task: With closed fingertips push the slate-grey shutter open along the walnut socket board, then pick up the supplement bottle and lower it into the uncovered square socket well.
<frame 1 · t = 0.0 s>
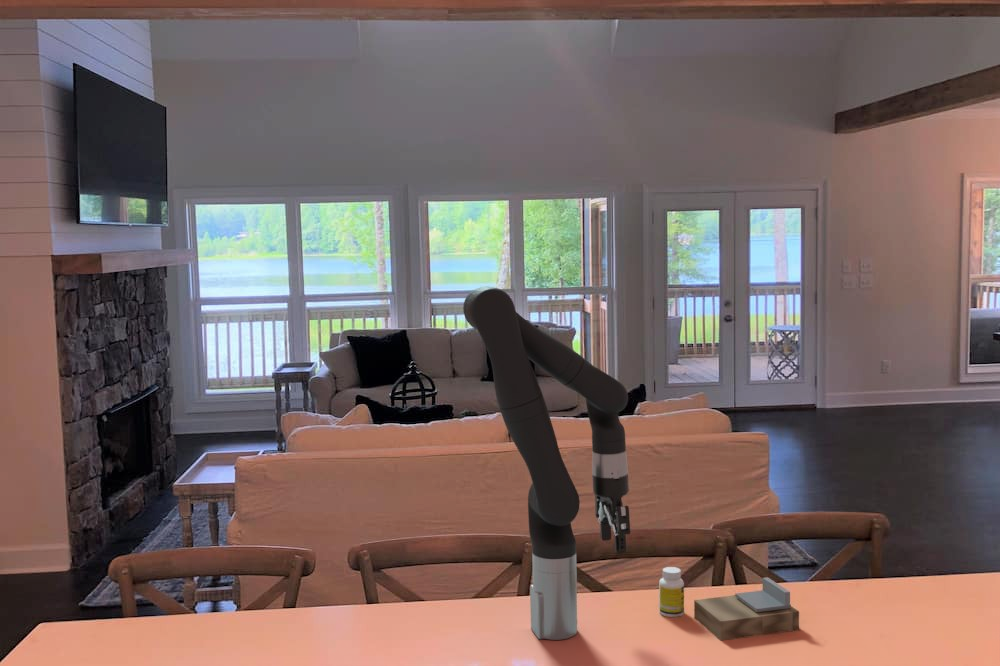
hand: (613, 546, 194), 17 cm above the kitchen island, tool pointing down, fingers open, 8 cm apart
shutter: (762, 594, 195), point 6 cm above the kitchen island, slide at 0.0 cm
supplement bottle: (671, 613, 201), on the kitchen island
socket board: (745, 623, 194), on the kitchen island
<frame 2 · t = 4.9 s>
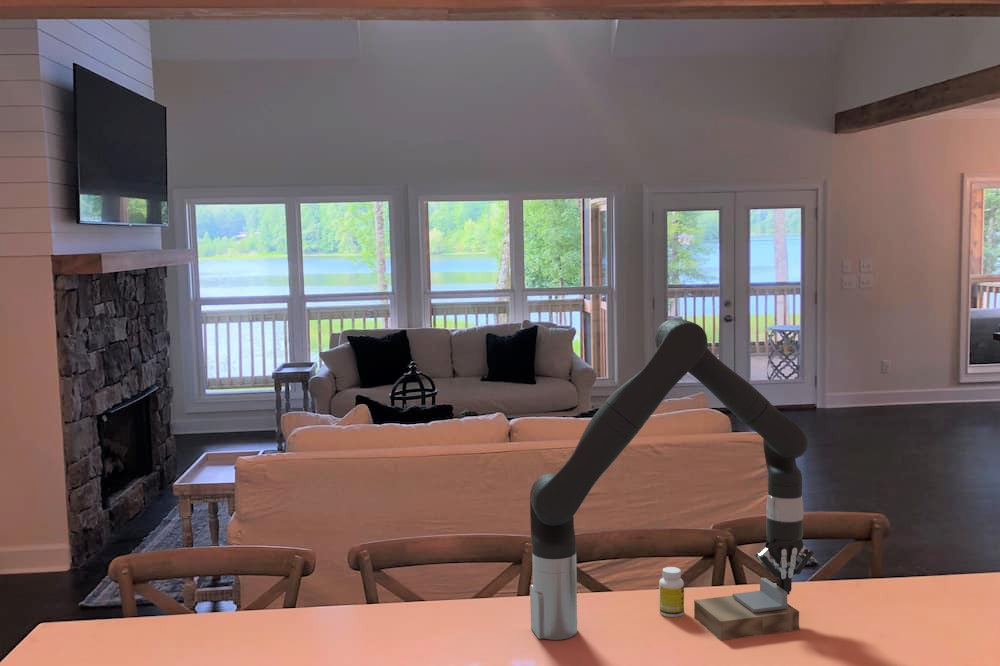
hand: (783, 593, 196), 6 cm above the kitchen island, tool pointing down, fingers closed
shutter: (759, 594, 195), point 6 cm above the kitchen island, slide at 0.7 cm, touching gripper
everything else where it was.
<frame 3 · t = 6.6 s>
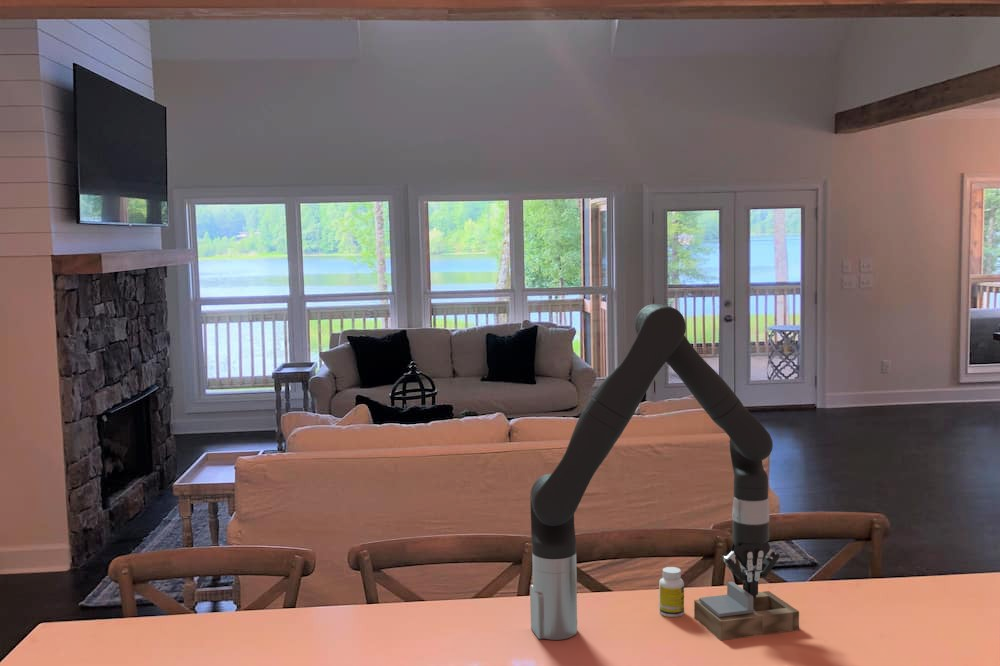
hand: (750, 597, 194), 6 cm above the kitchen island, tool pointing down, fingers closed
shutter: (726, 598, 193), point 6 cm above the kitchen island, slide at 8.5 cm, touching gripper
everything else where it was.
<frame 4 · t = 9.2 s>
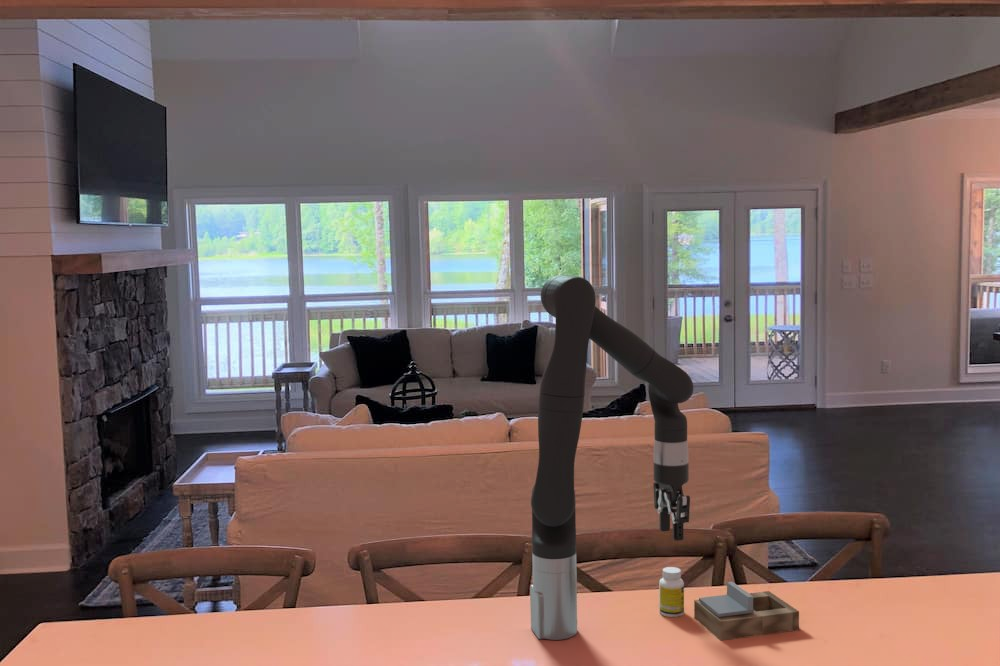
hand: (671, 534, 199), 18 cm above the kitchen island, tool pointing down, fingers open, 6 cm apart
shutter: (726, 598, 193), point 6 cm above the kitchen island, slide at 8.6 cm
everything else where it was.
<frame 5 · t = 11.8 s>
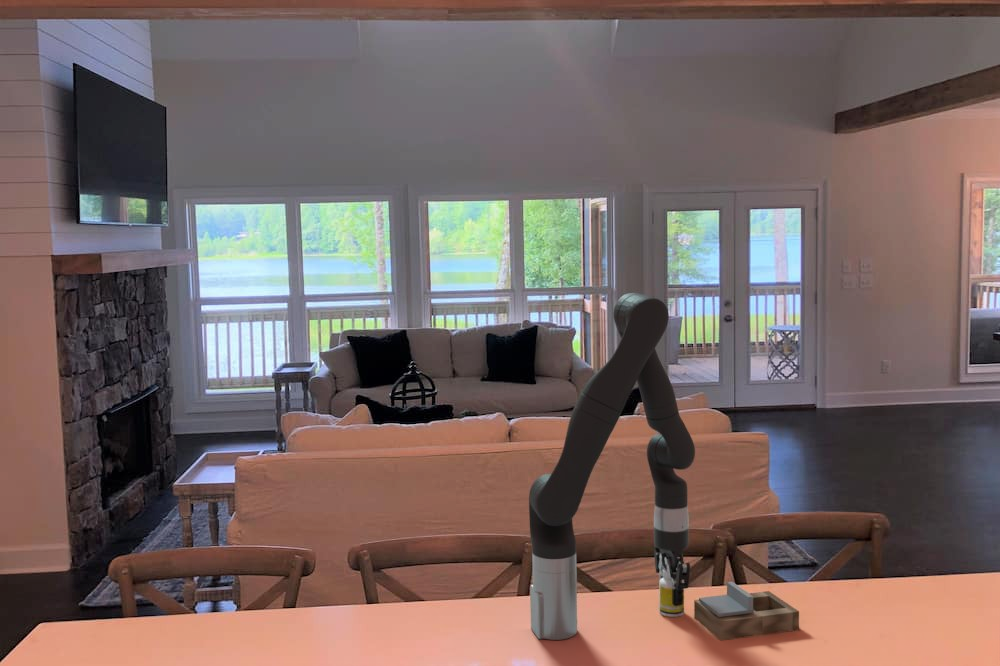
hand: (671, 599, 201), 3 cm above the kitchen island, tool pointing down, fingers closed on supplement bottle, 5 cm apart
supplement bottle: (671, 613, 201), on the kitchen island, touching gripper
everything else where it was.
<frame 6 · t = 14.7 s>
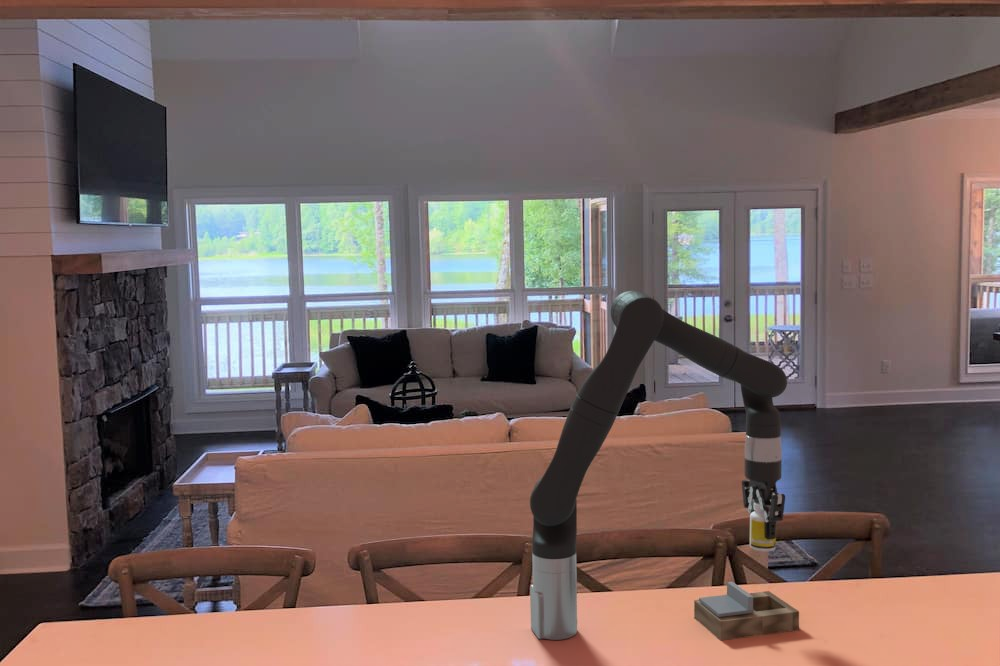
hand: (762, 534, 193), 19 cm above the kitchen island, tool pointing down, fingers closed on supplement bottle, 5 cm apart
supplement bottle: (762, 549, 194), point 16 cm above the kitchen island, touching gripper
everything else where it was.
when the fingers open (5 cm above the kitchen island, at t = 17.8 s): supplement bottle drops 2 cm, resting in socket board.
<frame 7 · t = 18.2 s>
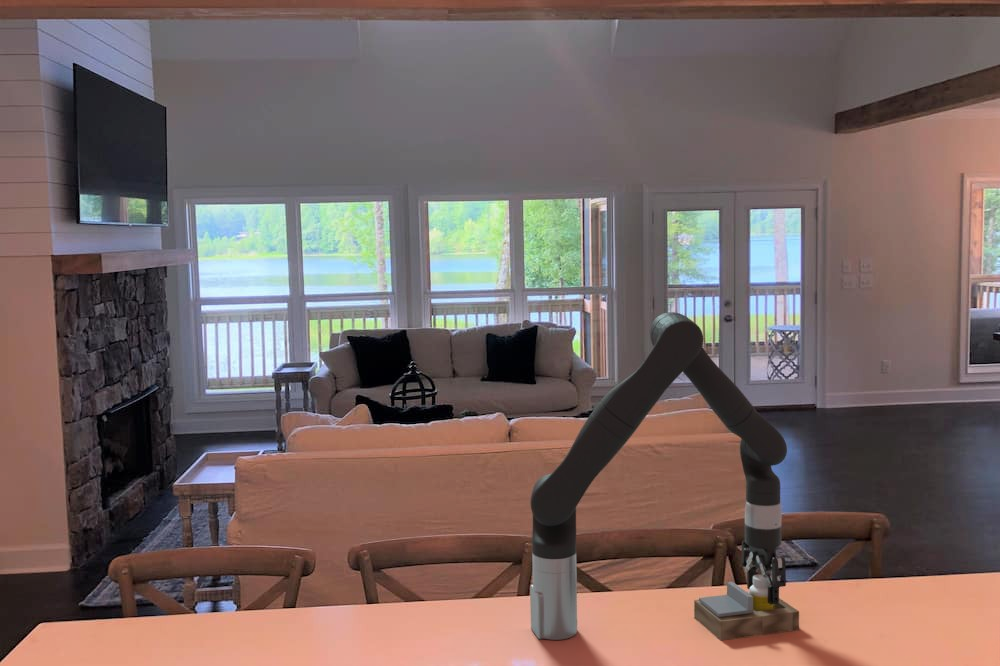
hand: (762, 596, 195), 6 cm above the kitchen island, tool pointing down, fingers open, 8 cm apart
supplement bottle: (761, 622, 195), resting in socket board
everything else where it was.
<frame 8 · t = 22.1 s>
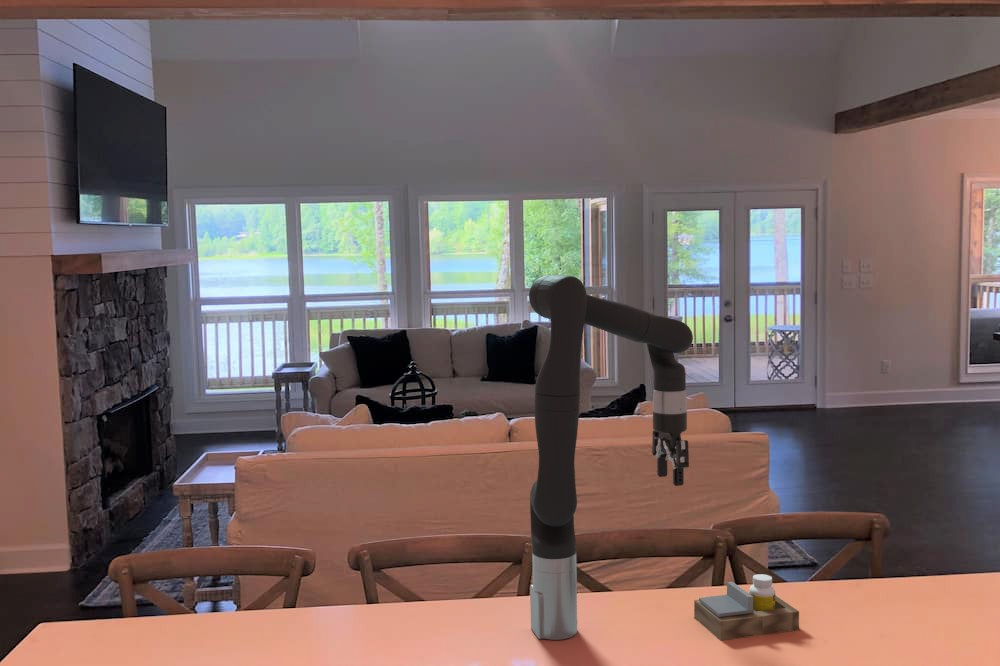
hand: (670, 480, 205), 28 cm above the kitchen island, tool pointing down, fingers open, 8 cm apart
nothing on the kitchen island moved.
at the end: supplement bottle 0.1 cm from the target spot, resting in socket board; supplement bottle tilted 0°; shutter slide at 8.6 cm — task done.
